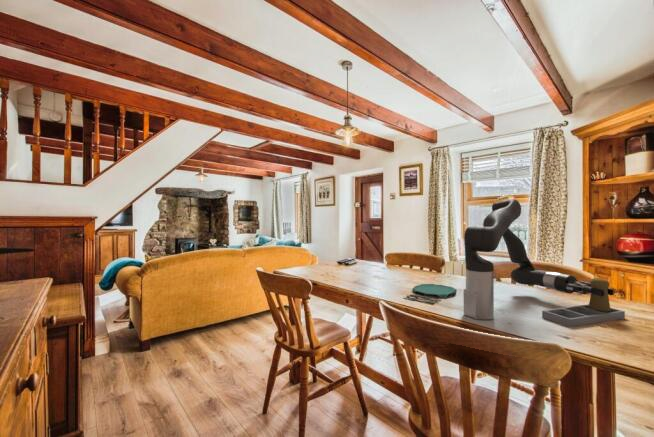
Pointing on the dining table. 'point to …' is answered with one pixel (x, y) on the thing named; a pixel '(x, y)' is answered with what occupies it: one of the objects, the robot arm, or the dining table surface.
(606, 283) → the cork
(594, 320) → the frame
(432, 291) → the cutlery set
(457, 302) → the dining table surface
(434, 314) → the dining table surface
